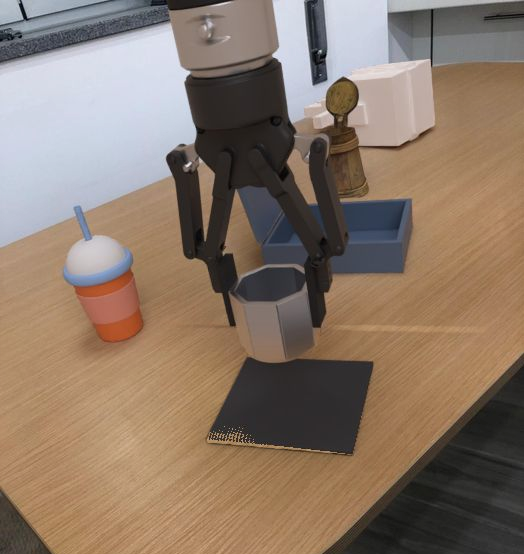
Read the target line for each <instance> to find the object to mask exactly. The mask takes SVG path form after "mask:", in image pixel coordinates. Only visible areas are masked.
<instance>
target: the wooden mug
mask: <svg viewBox="0 0 524 554" xmlns="http://www.w3.org/2000/svg"><path fill="white" fill-rule="evenodd" d="M325 98H326V109H327V111H328V112H329V113H330V114H331V115H332V116H333V117H334V125H332V127H330V128H324V129H323V130H322V131H324V130H325V131H328V132H329V133H330V135H331V150H330V163H331V167H332V171H333V175H334V179H335V182H336V186H337V190H338V194H339V198H340V199H354V198H357V199H358V198H360V197H363V196H365V195H366V194H368V192H369V183H368V178H367V176H366V175H365V171H364V165H363V160H362V156H361V152H360V146H358V144H359V140H358V136H357V134H356V132H355V128H354V127H347V126H348V115H349V114H350V113H351V112H352V111H353V110H354V109H355V107H356V106H357V104H358V100H359V91H358V88H357V86H356V84H355V83H354V82H353V81H351V80H349V79H348V78H347V77H345V76H342V77H340V78H337V80H335V81H334V82H333V83H332V84H331V85H330V86H329V88H328V89H327V90H326V94H325ZM340 114H341V115H340ZM342 114H344V115H342Z"/></svg>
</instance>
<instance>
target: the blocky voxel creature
mask: <svg viewBox="0 0 524 554" xmlns="http://www.w3.org/2000/svg"><path fill="white" fill-rule="evenodd" d="M431 63H432V62H431V58H428V59H427V58H426V59H418V60H409V61H408V60H407V61H400V62H393V63H392V62H391V63H383V64H374V65H372V66H366V67H365V66H364V67H358V68H355V69H354V70H351V71H350V75H349V76H347V77H346V78H348V79H349V80H351V81H353V82H354V83H355V84H356V86H357V88H358V91H359V100H358V104H357V106H356V107H355V109H354V110H353V111H352V112H351V113H350V114H349V115H348V126H347V127H354V128H355V132H356V134H357V136H358V140H359V144H358V146H359V147H399V146H401V145H403V144H405V143H406V142H412V141H413V140H415V139H416V138H418V137H419V136H420V134H422V133H424V132H425V131H427V130H430V129H431V128H432V127H434V126H435V125H436V116H435V104H434V103H435V102H434V89H433V75H432V65H431ZM303 114H304V118H305V119H312V125H313V129H314V130H316V129H321V130H322V129H325V128H326V127H328V126H333V125H334V117H333V116H332V115H331V114H330V113H329V112H328V111H327V109H326V97H324V98H322V99H320V100H317V101H316V103H311V104H309V105H306V106H304V107H303ZM340 115H341V114H340ZM342 115H344V114H342Z"/></svg>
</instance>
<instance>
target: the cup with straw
mask: <svg viewBox="0 0 524 554" xmlns="http://www.w3.org/2000/svg"><path fill="white" fill-rule="evenodd" d="M73 211H74V214H75V216H76V220H77V222H78V224H79V225H78V226H79V227H80V230H81V233H82V236H83V238H81V239H79V240H78V241H76V242H75V243H74V244H73V245H72V246H71V247H70V249H69V251H68V252H67V255H66V257H65V264H64V266H63V267H62V276H63V279H64V281H65V282H66V283H67V284H68V285H70V286H72V287H73V288H74V293H75V295H76V297H77V299H78V301H79V303H80V305H81V307H82V309H83V310H84V313H85V315H86V316H87V318H88V320H89V321H90V322H91V323H92V325H93V328H94V329H95V331H96V333H97V334H98V336H99V338H100V339H101V340H103V341H104V342H110V343H114V342H115V343H116V342H121V341H125V340H127V339H130V338H132V337H134V336H135V335H136V334H138V333H139V332H140V331H141V329H142V328H143V325H144V321H143V317H142V313H141V307H140V306H141V301H140V297H139V293H138V292H139V291H138V287H137V283H136V279H135V274H134V272H133V271H132V266H133V264H134V256H133V254H132V252H131V250H130V249H128V248H127V247H125V246H123V245H122V244H121V243H120V242H119V241H118V240H116V239H114V238H112V237H110V236H108V235H101V234H95V235H92V234H91V231H90V228H89V225H88V222H87V220H86V217H85V214H84V212H83V209H82V206H81V205H75V206H73Z"/></svg>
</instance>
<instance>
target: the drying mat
mask: <svg viewBox="0 0 524 554" xmlns="http://www.w3.org/2000/svg"><path fill="white" fill-rule="evenodd" d="M374 364H375V363H374V361H373V360H372V361H370V360H347V359H346V360H343V359H341V360H340V359H316V358H315V359H314V358H297V359H295V360H291V361H287V362H281V363H267V362H262V361H258V360H256V359H254V358H252V357H251V356H247V357H246V358H245V360H244V361H243V364H242V366H241V368H240V369H239V372H238V374H237V376H236V378H235V379H234V381H233V384H232V386H231V388H230V390H229V392H228V393H227V395H226V398H225V399H224V400H223V401H224V402H223V403H222V405H221V407H220V410H219V411H218V414H217V416H216V417H215V419H214V421H213V423H212V425H211V427H210V429H209V432H211V433H213V435H212V434H211V433H210V436H209V440H210V438H211V435H212V438H211V439H212V440H213V439H214V440H218V441H219V439H220V440H221V441H222V440H223V441H225V438H226V437H225V436H226V435H227V433H228V435H227V439H226V441H227V440H228V439H229V438H228V437H229V434H230V433H231V435H232V434H234V436H235V435H236V434H235V433H237V432H238V434H237V438H236V442H238V436H239V433H241V435H240V439H239V442H241V443H242V441H241V440H242V439H243V442H244V443H246V442H247V443H249V442H248V441H249V440H250V443H252V442H253V441H254V442H253V443H255V444H261V445H262V444H264V445H266V444H267V445H274V446H284V447H293V448H301V449H311V450H320V451H330V452H337V453H345V454H353V455H354V453H353V451H354V452H355V449H354V447H355V448H356V445H355V442H356V443H357V440H356V438H358V436H357V434H358V435H359V431H358V429H359V430H360V427H359V425H360V426H361V423H360V420H361V421H362V418H361V416H362V417H363V414H362V412H363V413H364V410H363V407H364V408H365V405H364V403H365V404H366V401H365V399H366V400H367V396H368V392H367V390H368V391H369V388H368V386H369V387H370V383H371V379H370V378H372V374H373V370H374ZM369 382H370V383H369ZM366 395H367V396H366ZM224 426H225V427H224ZM239 427H240V428H239ZM229 428H230V429H229ZM232 428H233V430H232ZM242 428H243V429H242ZM235 429H236V430H235ZM219 430H220V431H219ZM238 430H239V431H238ZM213 431H214V432H213ZM222 431H223V432H222ZM228 431H229V432H228ZM231 431H232V432H231ZM240 431H242V432H240ZM209 432H208V434H209ZM215 432H216V435H217V433H219V435H218V438H217V436H216V435H214V434H215ZM233 432H235V433H233ZM221 433H222V435H223V434H225V435H224V438H223V439H222V437H223V436H222V435H221V438H219V436H220V434H221ZM208 434H207V435H206V437H207V436H208ZM242 434H244V437H243V438H241V437H242V436H243V435H242ZM247 434H248V435H247ZM246 435H247V436H246ZM250 435H251V436H250ZM214 436H215V438H213V437H214ZM234 436H233V442H234V441H235V440H234V438H235V437H234ZM231 437H232V436H230V438H231ZM246 437H247V439H245V438H246ZM216 438H217V439H216ZM249 438H250V439H249ZM206 439H207V438H205V440H206ZM253 439H254V440H253ZM231 440H232V439H229V441H231ZM245 440H246V442H245ZM253 443H252V444H253Z"/></svg>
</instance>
